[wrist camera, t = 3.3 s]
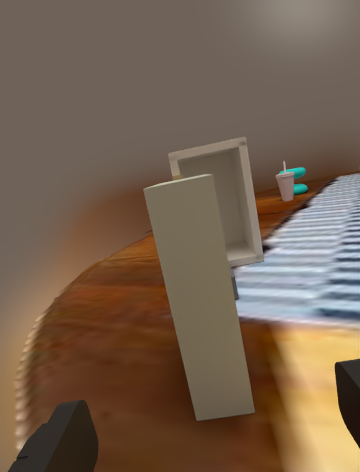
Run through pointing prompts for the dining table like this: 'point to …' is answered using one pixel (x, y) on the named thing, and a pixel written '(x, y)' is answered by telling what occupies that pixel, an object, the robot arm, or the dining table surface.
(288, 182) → the smoothie
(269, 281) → the dining table surface
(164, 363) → the dining table surface
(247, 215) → the hinge cabinet
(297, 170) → the donuts
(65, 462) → the robot arm
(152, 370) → the dining table surface
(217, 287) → the door panel
